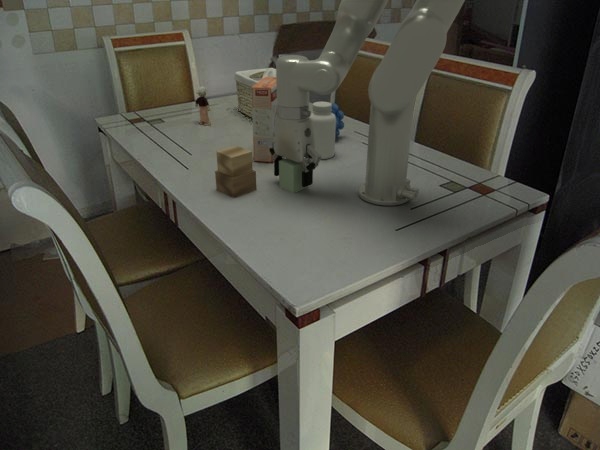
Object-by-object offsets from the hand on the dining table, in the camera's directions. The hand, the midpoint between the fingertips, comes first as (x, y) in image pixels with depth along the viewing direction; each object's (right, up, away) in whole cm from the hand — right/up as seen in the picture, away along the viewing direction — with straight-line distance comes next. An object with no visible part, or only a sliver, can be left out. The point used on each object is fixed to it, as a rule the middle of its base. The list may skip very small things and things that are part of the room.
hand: (293, 179), depth 126 cm
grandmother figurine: (-31, +24, +50) cm, 63 cm away
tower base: (-14, -2, 0) cm, 14 cm away
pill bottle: (+8, +9, +22) cm, 25 cm away
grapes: (+11, +15, +34) cm, 39 cm away
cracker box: (-7, +9, +22) cm, 25 cm away
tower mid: (-14, +2, -3) cm, 14 cm away
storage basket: (-10, +28, +59) cm, 66 cm away
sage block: (0, -2, +1) cm, 2 cm away
